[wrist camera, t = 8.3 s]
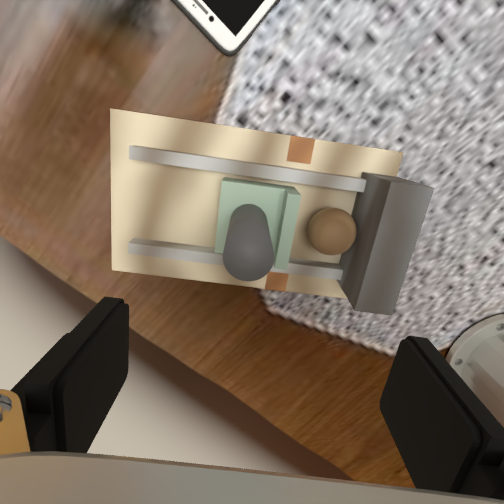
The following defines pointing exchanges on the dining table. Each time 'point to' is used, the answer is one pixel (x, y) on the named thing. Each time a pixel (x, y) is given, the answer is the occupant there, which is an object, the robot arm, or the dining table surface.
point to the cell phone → (226, 20)
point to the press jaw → (255, 227)
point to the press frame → (267, 171)
